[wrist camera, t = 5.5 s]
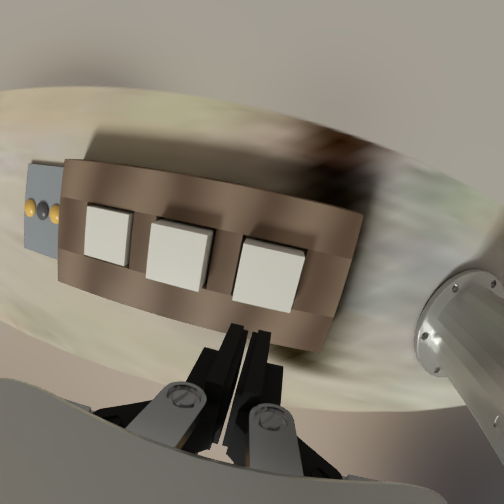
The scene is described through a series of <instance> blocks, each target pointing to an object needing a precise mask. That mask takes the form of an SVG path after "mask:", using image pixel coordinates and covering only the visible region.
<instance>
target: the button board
mask: <svg viewBox="0 0 504 504" xmlns="http://www.w3.org/2000/svg"><path fill="white" fill-rule="evenodd" d="M96 204H101V205H106V206H111V207H116V208H121V209H126V210H131V211H135V213H134V221H133V230H132V239H131V250H130V262H129V264H127V265H125V266H121V265H118V264H114V263H111V262H108V261H104V260H101V259H97V258H94V257H91V256H87V255H84V245H85V227H86V214H87V206H90V205H96ZM363 217H364V215H363V214H361V213H358V212H356V211H353V210H350V209H346V208H342V207H338V206H334V205H330V204H326V203H322V202H318V201H314V200H310V199H306V198H302V197H297V196H293V195H289V194H284V193H280V192H275V191H271V190H266V189H262V188H257V187H252V186H247V185H242V184H237V183H232V182H227V181H222V180H217V179H212V178H206V177H201V176H195V175H189V174H183V173H177V172H171V171H165V170H159V169H152V168H145V167H138V166H131V165H124V164H116V163H109V162H100V161H92V160H81V159H65V162H64V169H63V177H62V185H61V195H60V207H59V224H58V281H60V282H62V283H65V284H68V285H70V286H73V287H76V288H78V289H81V290H84V291H87V292H89V293H92V294H95V295H98V296H101V297H104V298H106V299H109V300H112V301H115V302H118V303H121V304H125V305H128V306H131V307H134V308H137V309H140V310H143V311H147V312H150V313H153V314H157V315H160V316H163V317H167V318H170V319H174V320H177V321H181V322H185V323H188V324H192V325H196V326H199V327H203V328H207V329H211V330H215V331H219V332H223V333H227V331H228V329H229V327H230V324H231V323H235V324H239V325H243V326H244V330H249V331H248V335H247V338H248V339H251V336H252V332H257V333H258V330H263V331H268V332H272V333H271V340H270V343H271V344H276V345H281V346H286V347H291V348H297V349H302V350H307V351H313V352H319V353H321V351H322V349H323V346H324V343H325V341H326V338H327V335H328V332H329V330H330V327H331V324H332V321H333V318H334V315H335V312H336V309H337V306H338V303H339V300H340V297H341V294H342V291H343V288H344V284H345V281H346V278H347V275H348V271H349V268H350V265H351V261H352V258H353V254H354V251H355V247H356V243H357V240H358V236H359V232H360V228H361V225H362V221H363ZM161 219H165V220H169V221H174V222H179V223H183V224H188V225H193V226H197V227H202V228H207V229H211V230H214V235H213V241H212V246H211V252H210V258H209V264H208V270H207V275H206V282H205V284H204V285H203V286H202V288H201V289H200V290H199V292H196V291H192V290H189V289H185V288H181V287H177V286H173V285H169V284H166V283H162V282H158V281H155V280H151V279H147V278H146V268H147V258H148V248H149V240H150V231H151V224H152V223H153V222H156V221H159V220H161ZM246 238H252V239H256V240H261V241H265V242H270V243H274V244H279V245H283V246H287V247H292V248H296V249H301V250H303V252H304V255H305V260H304V264H303V267H302V271H301V275H300V279H299V282H298V286H297V290H296V293H295V297H294V300H293V304H292V308H291V311H290V313H287V312H282V311H277V310H273V309H268V308H264V307H259V306H255V305H250V304H246V303H242V302H237V301H233V300H232V298H233V293H234V288H235V283H236V278H237V273H238V268H239V263H240V258H241V253H242V248H243V243H244V242H245V240H246Z"/></svg>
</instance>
